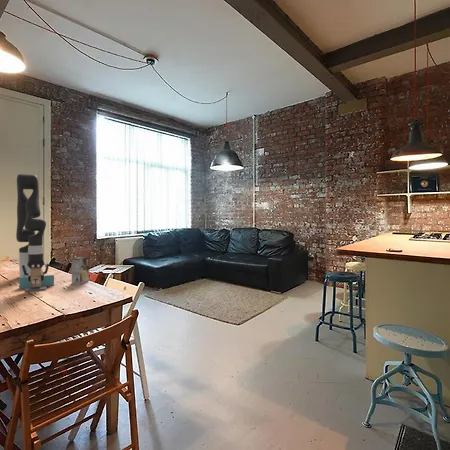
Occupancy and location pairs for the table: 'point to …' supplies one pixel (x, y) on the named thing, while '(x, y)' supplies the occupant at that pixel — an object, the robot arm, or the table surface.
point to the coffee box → (80, 270)
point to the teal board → (46, 282)
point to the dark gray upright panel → (35, 288)
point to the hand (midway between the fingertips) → (36, 281)
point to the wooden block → (35, 276)
